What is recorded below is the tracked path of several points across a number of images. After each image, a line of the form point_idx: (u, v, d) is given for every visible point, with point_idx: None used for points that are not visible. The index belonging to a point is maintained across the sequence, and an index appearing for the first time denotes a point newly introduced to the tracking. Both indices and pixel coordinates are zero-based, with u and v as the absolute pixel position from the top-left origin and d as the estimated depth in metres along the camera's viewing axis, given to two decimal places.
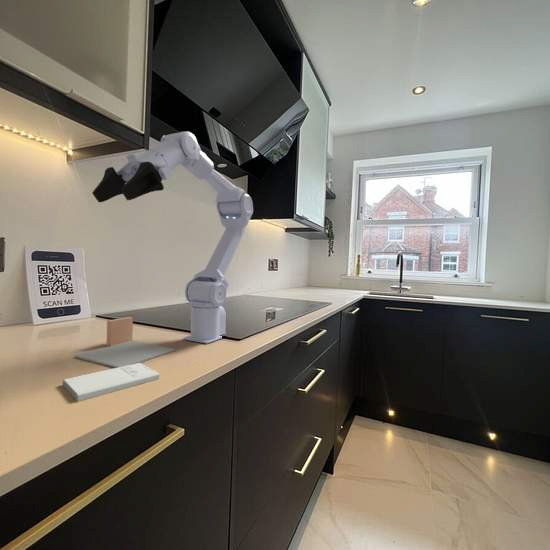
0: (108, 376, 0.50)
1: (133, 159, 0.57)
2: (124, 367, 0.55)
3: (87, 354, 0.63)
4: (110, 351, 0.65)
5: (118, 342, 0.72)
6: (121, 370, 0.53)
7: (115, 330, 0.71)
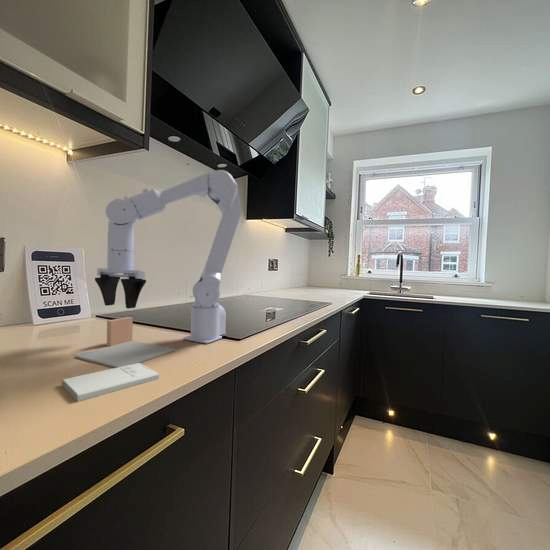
0: (108, 376, 0.50)
1: (110, 272, 0.70)
2: (123, 367, 0.55)
3: (87, 354, 0.63)
4: (110, 351, 0.65)
5: (118, 342, 0.72)
6: (120, 370, 0.53)
7: (115, 330, 0.71)
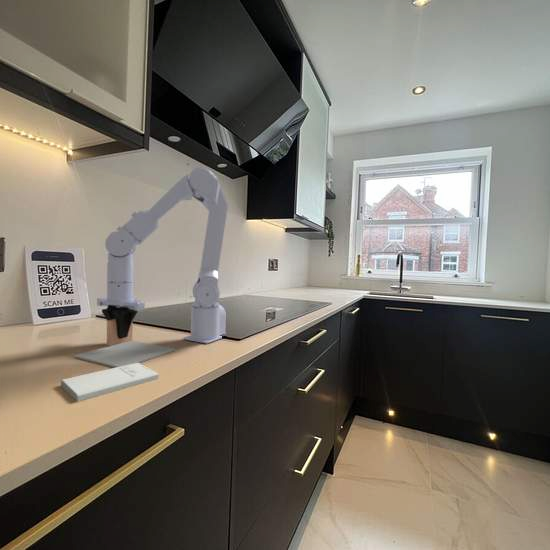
0: (107, 376, 0.50)
1: None
2: (122, 367, 0.55)
3: (87, 354, 0.63)
4: (110, 351, 0.65)
5: (118, 342, 0.72)
6: (120, 370, 0.53)
7: (115, 330, 0.71)
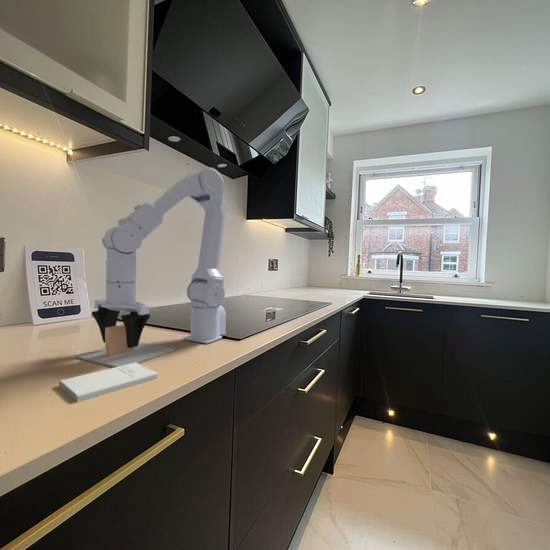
0: (106, 376, 0.50)
1: None
2: (121, 367, 0.55)
3: (87, 354, 0.63)
4: None
5: (118, 352, 0.63)
6: (118, 370, 0.53)
7: (115, 338, 0.63)
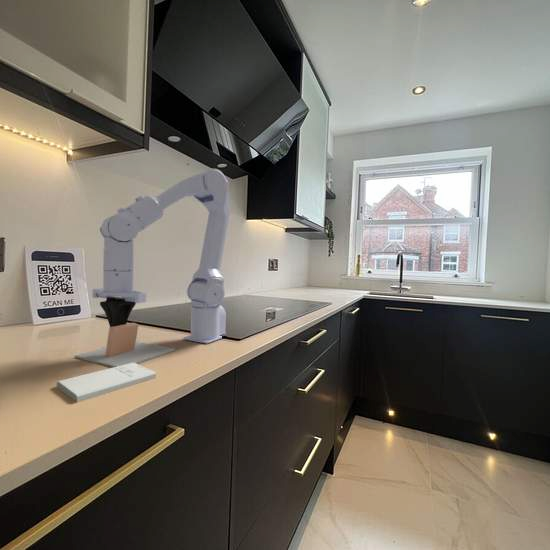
0: (104, 376, 0.50)
1: (106, 295, 0.62)
2: (118, 367, 0.54)
3: (87, 354, 0.63)
4: None
5: (118, 352, 0.63)
6: (116, 370, 0.53)
7: (117, 339, 0.62)
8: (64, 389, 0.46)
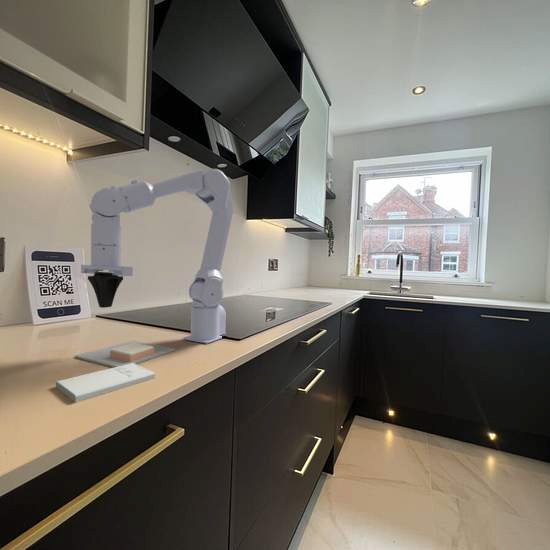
0: (103, 376, 0.50)
1: (93, 269, 0.63)
2: (118, 367, 0.54)
3: (87, 354, 0.63)
4: None
5: None
6: (115, 370, 0.53)
7: None
8: (63, 389, 0.46)
